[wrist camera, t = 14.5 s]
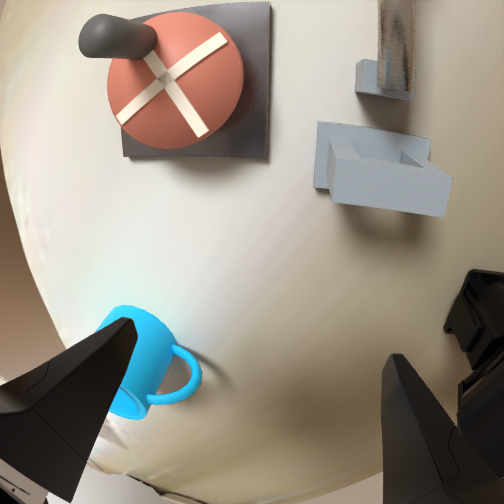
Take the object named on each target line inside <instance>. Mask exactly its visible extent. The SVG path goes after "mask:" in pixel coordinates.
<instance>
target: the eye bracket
mask: <svg viewBox="0 0 504 504" xmlns="http://www.w3.org/2000/svg"><path fill="white" fill-rule="evenodd" d="M377 65H378V61H374V60H368V59H363V60H361V61H360V62H358V63H357V64H356V83H355V92H360V93H366V94H372V95H378V96H384V97H389V98H394V99H399V100H407V101H413V100H414V86H415V69H414V80H413V94H411V93H404V92H399V91H393V90H388V89H383V88H379V87H376V86H377ZM430 144H431V140H429V139H426V138H422V137H417V136H413V135H408V134H403V133H398V132H392V131H387V130H381V129H375V128H369V127H362V126H356V125H348V124H340V123H332V122H323V121H318V130H317V145H316V158H315V170H314V182H313V187H317V188H326V189H329V190H330V196H331V202H334V203H343V204H351V205H359V206H367V207H375V208H382V209H389V210H396V211H403V212H409V213H416V214H422V215H428V216H434V217H440V218H444V214H445V210H446V206H447V202H448V198H449V194H450V189H451V185H452V180H453V178H452V177H451V176H449V175H448V174H447V173H445V172H444V171H442V170H441V169H440V168H438V167H437V166H435V165H434V164H433V163H431V162H430V161H428V157H429V150H430Z"/></svg>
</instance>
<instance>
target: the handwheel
mask: <svg viewBox="0 0 504 504" xmlns="http://www.w3.org/2000/svg"><path fill="white" fill-rule="evenodd" d="M79 49H80V51H81V53H82V54H83V55H84V56H86V57H89V58H113V59H112V62H111V65H110V68H109V73H108V81H107V91H108V99H109V103H110V107H111V109H112V112H113V114H114V116H115V118H116V120H117V122H118V123H119V124H120V126H121V127H122V128H123V129H124V130H125V131H126V132H127V133H128V134H129V135H130V136H131V137H133V138H134V139H135V140H137V141H139V142H141V143H143V144H145V145H148V146H151V147H155V148H161V149H176V148H182V147H185V146H189V145H192V144H194V143H196V142H199V141H201V140H203V139H205V138H206V137H208V136H210V135H211V134H213V133H214V132H215V131H216V130H218V129H219V128H220V127H221V126H222V125H223V124H224V123H225V122H226V121H227V119H228V118H229V117H230V115H231V114H232V112H233V110H234V109H235V107H236V105H237V103H238V100H239V98H240V94H241V91H242V86H243V72H244V71H243V63H242V59H241V55H240V52H239V50H238V48H237V45H236V44H235V42H234V41H233V39H232V38H231V36H230V35H229V34H228V33H227V32H226V31H225V30H224V29H223V28H221V27H220V26H219V25H218V24H216V23H214V22H213V21H211V20H209V19H208V18H205V17H203V16H200V15H197V14H193V13H187V12H171V13H166V14H162V15H159V16H155V17H153V18H151V19H149V20H147V21H145V22H143V23H140V22H136V21H132V20H128V19H124V18H120V17H116V16H112V15H107V14H98V15H96V16H94V17H92V18H91V19H89V20H88V21H87V22H86V24H85V25H84V26H83V28H82V30H81V32H80V35H79Z"/></svg>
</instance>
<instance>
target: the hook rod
mask: <svg viewBox="0 0 504 504" xmlns="http://www.w3.org/2000/svg"><path fill="white" fill-rule="evenodd" d="M414 52H415V28H414V1H413V0H378V65H377V86H376V87H379V88H383V89H388V90H393V91H399V92H404V93H411V94H413V80H414Z"/></svg>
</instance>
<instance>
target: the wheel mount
mask: <svg viewBox="0 0 504 504" xmlns="http://www.w3.org/2000/svg"><path fill="white" fill-rule="evenodd" d="M171 12H187V13H193V14H197V15H200V16H203V17H205V18H208V19H209V20H211V21H213V22H214V23H216V24H218V25H219V26H220V27H221V28H223V29H224V30H225V31H226V32H227V33H228V34H229V35H230V36H231V38H232V39H233V41H234V42H235V44H236V45H237V48H238V50H239V52H240V55H241V59H242V63H243V71H244V72H243V86H242V91H241V94H240V98H239V100H238V103H237V105H236V107H235V109H234V110H233V112H232V114H231V115H230V117H229V118H228V119H227V121H226V122H225V123H224V124H223V125H222V126H221V127H220V128H219V129H218V130H216V131H215V132H214V133H213V134H211V135H210V136H208V137H206V138H205V139H203V140H201V141H199V142H196V143H194V144H192V145H189V146H185V147H182V148H176V149H161V148H155V147H151V146H148V145H145V144H143V143H141V142H139V141H137V140H135V139H134V138H133V137H131V136H130V135H129V134H128V133H127V132H126V131H125V130H124V129H123V128H122V127H121V134H122V146H123V157H134V156H226V157H249V158H266V157H267V138H268V102H269V58H270V2H240V3H225V4H215V5H205V6H197V7H190V8H184V9H178V10H172V11H167V12H161V13H157V14H152V15H147V16H143V17H139V18H135V19H131V20H132V21H136V22H140V23H143V22H145V21H147V20H149V19H151V18H153V17H155V16H159V15H162V14H166V13H171Z"/></svg>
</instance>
